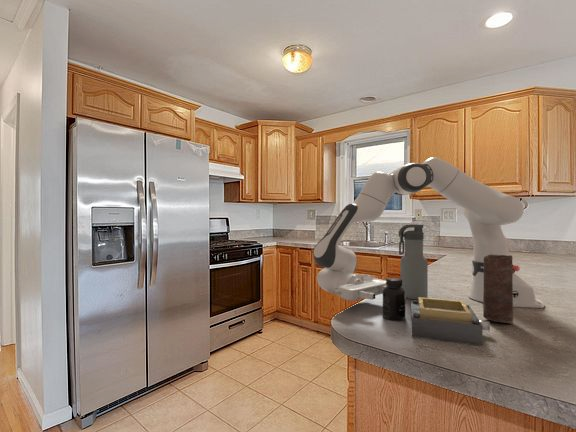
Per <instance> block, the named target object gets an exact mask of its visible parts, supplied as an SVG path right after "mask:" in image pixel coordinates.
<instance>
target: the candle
mask: <svg viewBox="0 0 576 432" xmlns="http://www.w3.org/2000/svg"><path fill="white" fill-rule="evenodd" d="M512 264H513V255H509V256H507V255H488V256H485V257H484V291H483V302H482V303H483V306H482V310H483V311H482V312H483V313H482V316H483V318H484V319H486V320H488V321H492V322H495V323H506V324H513V323H514V307H513V282H512V280H513V279H512V277H513V273H512Z"/></svg>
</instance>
